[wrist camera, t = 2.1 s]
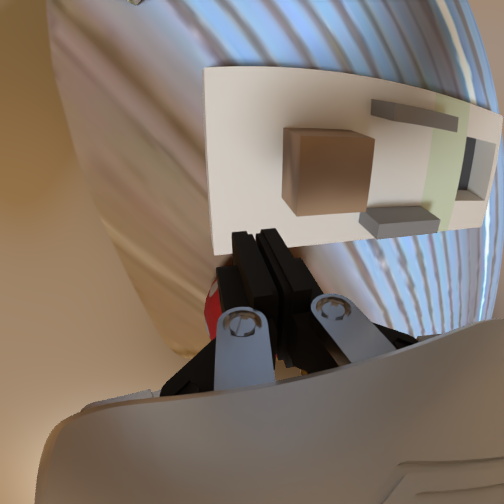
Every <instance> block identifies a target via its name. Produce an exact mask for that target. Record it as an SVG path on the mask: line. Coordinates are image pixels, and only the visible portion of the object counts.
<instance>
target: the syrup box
mask: <svg viewBox="0 0 504 504" xmlns="http://www.w3.org/2000/svg"><path fill="white" fill-rule="evenodd" d="M126 1H128V2H130V3H132V4H134V5H137V4H138V3H139V2H140V1H141V0H126Z"/></svg>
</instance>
